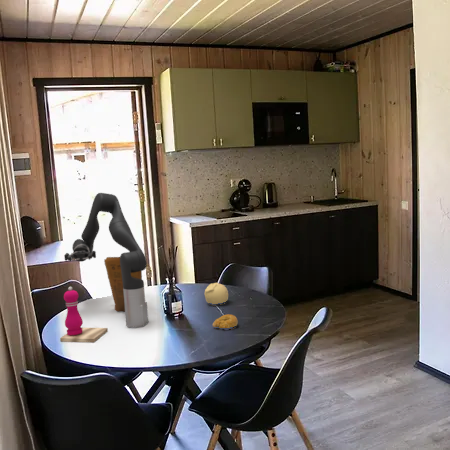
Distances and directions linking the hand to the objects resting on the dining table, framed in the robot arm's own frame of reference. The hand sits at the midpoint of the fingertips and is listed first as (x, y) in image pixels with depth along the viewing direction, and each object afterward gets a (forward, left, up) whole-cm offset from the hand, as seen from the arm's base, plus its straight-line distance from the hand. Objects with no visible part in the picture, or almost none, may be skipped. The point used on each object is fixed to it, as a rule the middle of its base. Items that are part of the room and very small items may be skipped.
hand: (79, 258), depth 221 cm
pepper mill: (-6, +21, -28) cm, 36 cm away
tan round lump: (-57, -29, -30) cm, 71 cm away
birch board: (-10, +20, -30) cm, 37 cm away
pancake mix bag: (-15, -15, -30) cm, 37 cm away
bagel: (-68, +5, -30) cm, 75 cm away
